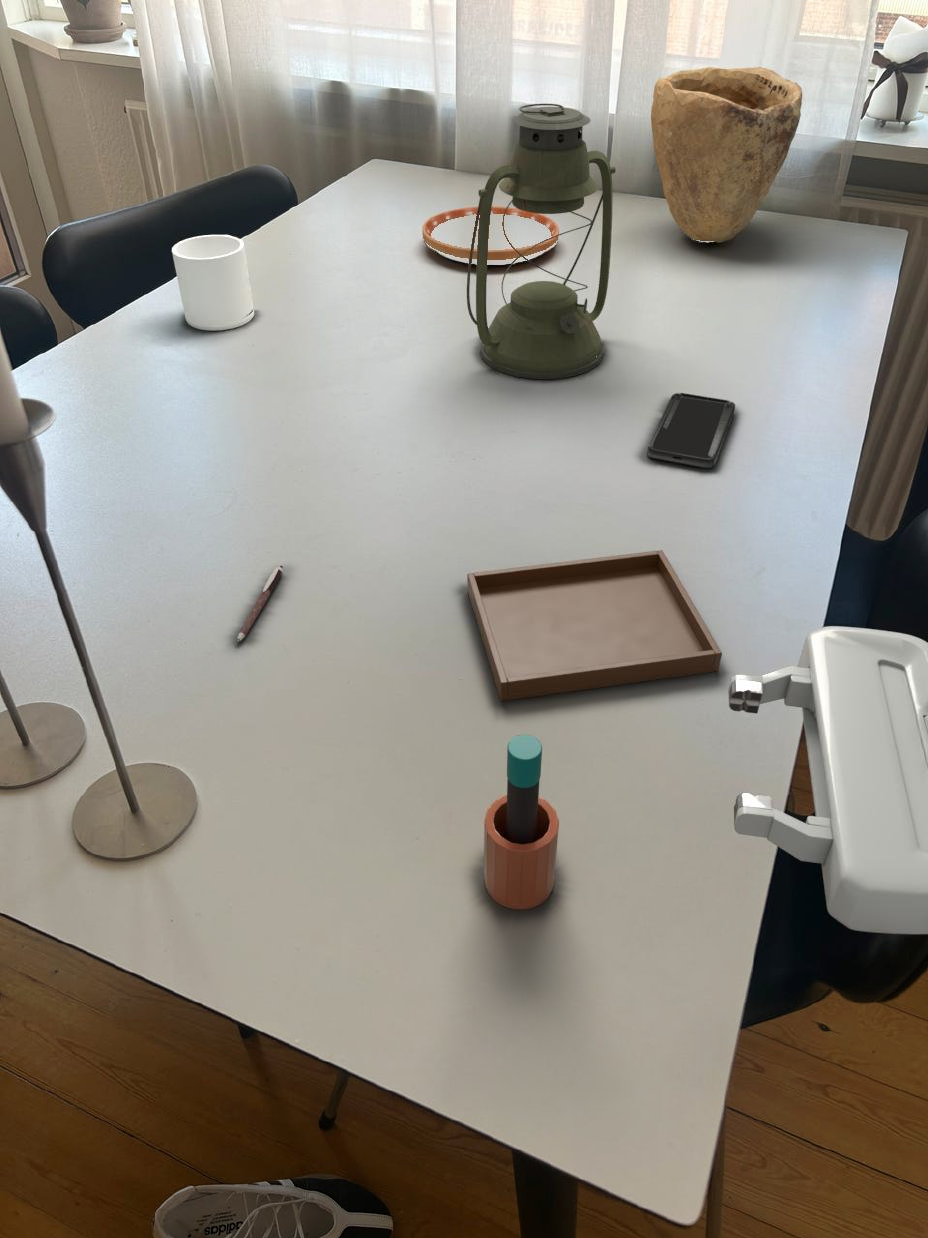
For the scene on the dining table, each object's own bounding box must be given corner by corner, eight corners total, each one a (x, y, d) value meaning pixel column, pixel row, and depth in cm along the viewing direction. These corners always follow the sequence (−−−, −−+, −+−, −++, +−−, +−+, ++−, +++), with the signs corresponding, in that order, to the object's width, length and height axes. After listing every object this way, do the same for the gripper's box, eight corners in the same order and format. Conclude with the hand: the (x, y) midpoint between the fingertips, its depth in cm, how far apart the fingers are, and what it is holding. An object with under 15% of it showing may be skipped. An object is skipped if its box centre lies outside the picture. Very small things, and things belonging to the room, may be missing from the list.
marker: (530, 860, 68) (537, 732, 59) (537, 885, 66) (545, 757, 58) (501, 864, 67) (504, 736, 59) (507, 889, 66) (511, 762, 57)
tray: (659, 567, 95) (662, 549, 93) (718, 671, 83) (722, 653, 82) (467, 590, 92) (467, 573, 91) (500, 701, 81) (500, 683, 79)
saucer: (511, 218, 176) (512, 197, 173) (584, 256, 160) (586, 233, 158) (399, 240, 167) (398, 218, 165) (465, 283, 152) (465, 259, 149)
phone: (736, 401, 118) (714, 460, 107) (735, 410, 119) (713, 469, 108) (672, 391, 120) (644, 448, 110) (671, 399, 121) (643, 456, 110)
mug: (239, 333, 138) (227, 261, 131) (174, 328, 140) (159, 256, 133) (270, 299, 147) (261, 231, 141) (209, 295, 149) (197, 227, 143)
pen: (278, 569, 95) (277, 561, 94) (286, 570, 95) (284, 562, 94) (234, 644, 86) (232, 635, 86) (242, 645, 86) (240, 636, 86)
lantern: (508, 393, 123) (513, 137, 104) (444, 342, 135) (438, 104, 116) (639, 358, 130) (666, 113, 111) (568, 313, 142) (581, 85, 123)
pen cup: (544, 846, 69) (548, 787, 65) (561, 903, 66) (566, 845, 61) (478, 857, 69) (478, 798, 64) (492, 915, 65) (493, 856, 61)
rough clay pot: (716, 276, 153) (744, 101, 137) (612, 240, 166) (626, 77, 150) (800, 243, 164) (835, 77, 148) (697, 212, 177) (718, 57, 161)
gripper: (1012, 979, 48) (729, 937, 50) (934, 693, 63) (719, 670, 65) (1061, 907, 44) (750, 864, 46) (965, 620, 59) (735, 598, 61)
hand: (732, 748), depth 56 cm, fingers open, 8 cm apart
